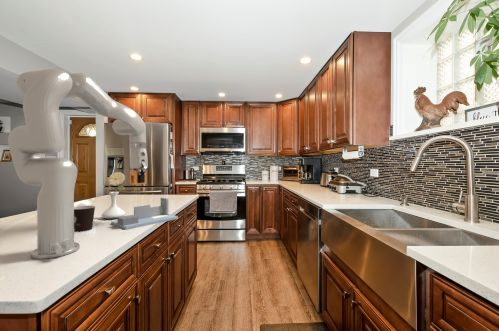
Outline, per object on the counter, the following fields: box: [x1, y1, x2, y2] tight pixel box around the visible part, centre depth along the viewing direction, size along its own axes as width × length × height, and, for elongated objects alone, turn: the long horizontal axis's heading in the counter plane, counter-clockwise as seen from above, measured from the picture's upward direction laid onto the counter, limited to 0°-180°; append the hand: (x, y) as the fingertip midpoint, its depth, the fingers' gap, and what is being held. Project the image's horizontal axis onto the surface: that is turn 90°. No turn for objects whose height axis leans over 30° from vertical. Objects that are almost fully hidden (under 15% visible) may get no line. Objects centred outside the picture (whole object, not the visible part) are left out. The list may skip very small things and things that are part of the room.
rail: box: [110, 197, 179, 231], centre depth 121 cm, size 16×27×10 cm, turn 141°
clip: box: [129, 169, 148, 186], centre depth 119 cm, size 5×6×7 cm
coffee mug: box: [74, 205, 96, 233], centre depth 106 cm, size 12×9×10 cm
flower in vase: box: [101, 171, 126, 220], centre depth 128 cm, size 13×11×25 cm
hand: (138, 182), depth 119 cm, fingers closed on clip, 5 cm apart
